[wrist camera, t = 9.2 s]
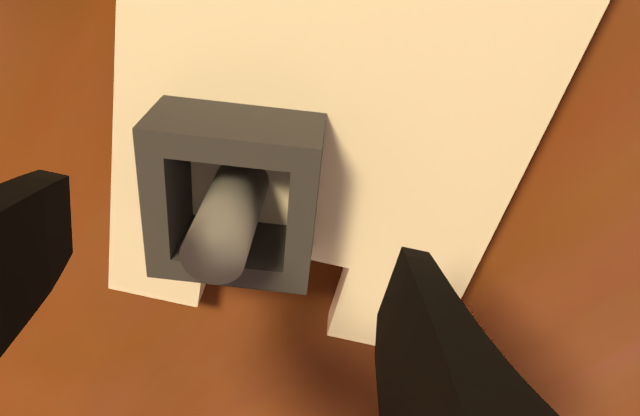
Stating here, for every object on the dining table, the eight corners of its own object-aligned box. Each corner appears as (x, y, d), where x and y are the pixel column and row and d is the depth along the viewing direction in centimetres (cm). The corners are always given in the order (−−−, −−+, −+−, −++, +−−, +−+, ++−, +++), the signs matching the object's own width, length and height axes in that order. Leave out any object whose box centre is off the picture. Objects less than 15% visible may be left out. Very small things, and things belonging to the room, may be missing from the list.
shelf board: (745, -331, 13) (1021, -484, 8) (427, 334, 26) (446, 457, 20) (154, -523, 12) (-11, -855, 7) (121, 267, 25) (53, 377, 19)
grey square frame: (326, 113, 19) (321, 149, 16) (312, 246, 22) (306, 295, 19) (163, 94, 19) (132, 128, 16) (171, 230, 22) (146, 277, 19)
